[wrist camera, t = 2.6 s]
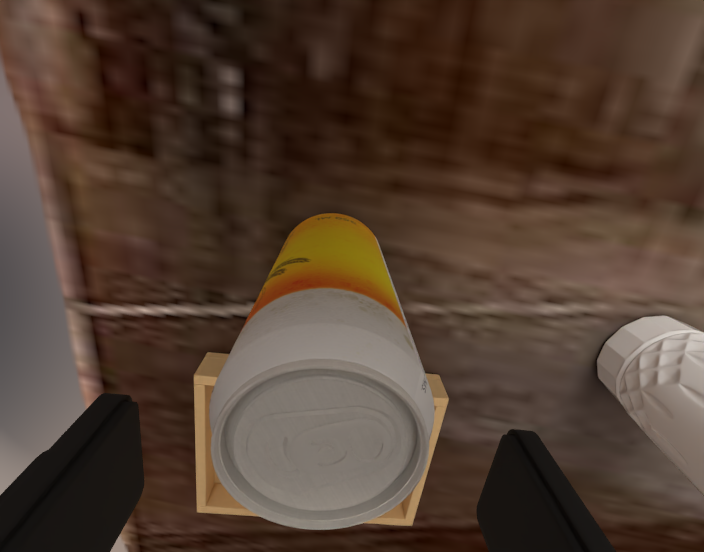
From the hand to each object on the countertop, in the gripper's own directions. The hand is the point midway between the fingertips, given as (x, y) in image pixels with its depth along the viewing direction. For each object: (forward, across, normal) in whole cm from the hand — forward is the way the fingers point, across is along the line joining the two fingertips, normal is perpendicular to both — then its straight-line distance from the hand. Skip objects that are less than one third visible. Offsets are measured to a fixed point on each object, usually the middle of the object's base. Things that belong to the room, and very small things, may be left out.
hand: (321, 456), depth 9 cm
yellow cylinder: (+15, 0, -1) cm, 15 cm away
